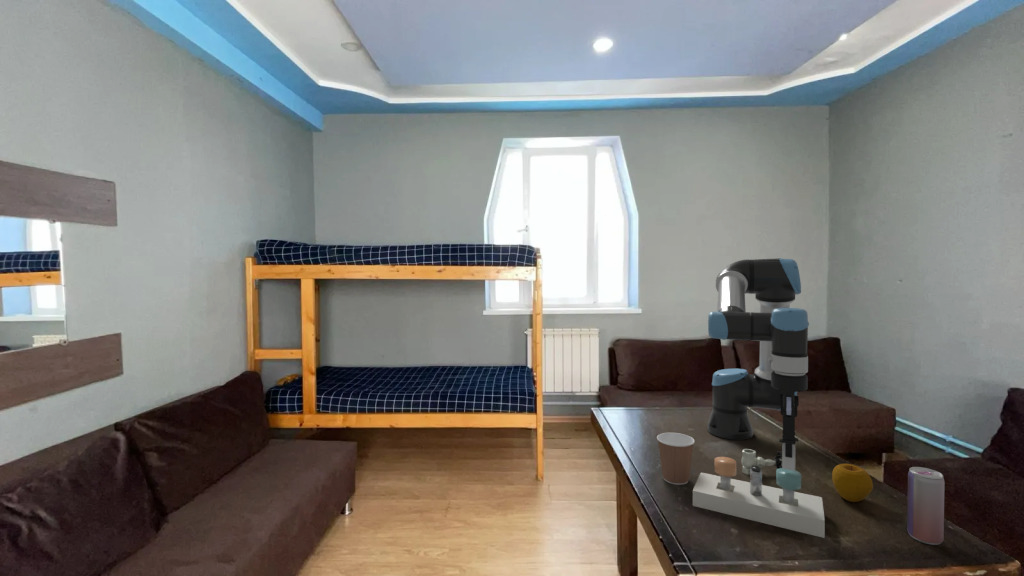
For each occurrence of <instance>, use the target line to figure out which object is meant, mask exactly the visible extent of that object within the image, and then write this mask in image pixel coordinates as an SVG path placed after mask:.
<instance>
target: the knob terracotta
mask: <svg viewBox="0 0 1024 576" xmlns="http://www.w3.org/2000/svg"><path fill="white" fill-rule="evenodd" d="M737 463H738V462H737V461H736V460H735V459H733V458H731V457H727V456H717V457H714V472H715V474H718V476H720V487H721V488H723V489H727V490H728V489H731V479H732V478H733V477H736V476H737V474H738V473H737V472H738V470H737V469H738V468H737Z"/></svg>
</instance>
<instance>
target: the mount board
mask: <svg viewBox="0 0 1024 576" xmlns="http://www.w3.org/2000/svg"><path fill="white" fill-rule="evenodd" d="M692 506H693V507H696V508H699V509H700V508H701V509H704V510H708V511H709V510H710V511H712V512H717V513H721V514H725V515H729V516H733V517H737V518H741V519H746V520H749V521H753V522H758V523H762V524H766V525H770V526H774V527H778V528H782V529H786V530H790V531H794V532H799V533H802V534H807V535H811V536H815V537H818V538H823V539H825V537H826V536H825V535H826V533H825V532H826V531H825V530H826V529H825V525H826V524H825V523H826V522H825V521H826V519H825V512H824V503H823V496H822V497H821V496H818V495H812V494H807V493H802V492H798V491H794V503H786V502H784V501H783V488H779V487H773V486H769V485H764V484H762V496H754V495H752V494H750V481H745V480H739V479H735V478H731V489H728V490H727V489H723V488H721V487H720V475H715V474H711V473H705V472H700V473H699V475H698V477H697V480H696V482H695V484H694V486H693V489H692Z"/></svg>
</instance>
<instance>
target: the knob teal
mask: <svg viewBox="0 0 1024 576" xmlns="http://www.w3.org/2000/svg"><path fill="white" fill-rule="evenodd" d="M775 472H776V473H775V474H776V475H775V481H776V482H775V483H776V485H777V486H779V487H780V488H781V489H783V501H784V502H786V503H794V492H795V491H798V490H801V489H802V474H801V473H800V472H799V471H798V470H795V471H793V470H788V469H782V468H779V469H777V468H776V470H775Z"/></svg>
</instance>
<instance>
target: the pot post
mask: <svg viewBox="0 0 1024 576" xmlns="http://www.w3.org/2000/svg"><path fill="white" fill-rule="evenodd" d="M749 482H750V494H752V495H754V496H762V485H763V471H762V469H761V468H760V467H758V466H752V468H751V469H750V475H749Z"/></svg>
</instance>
